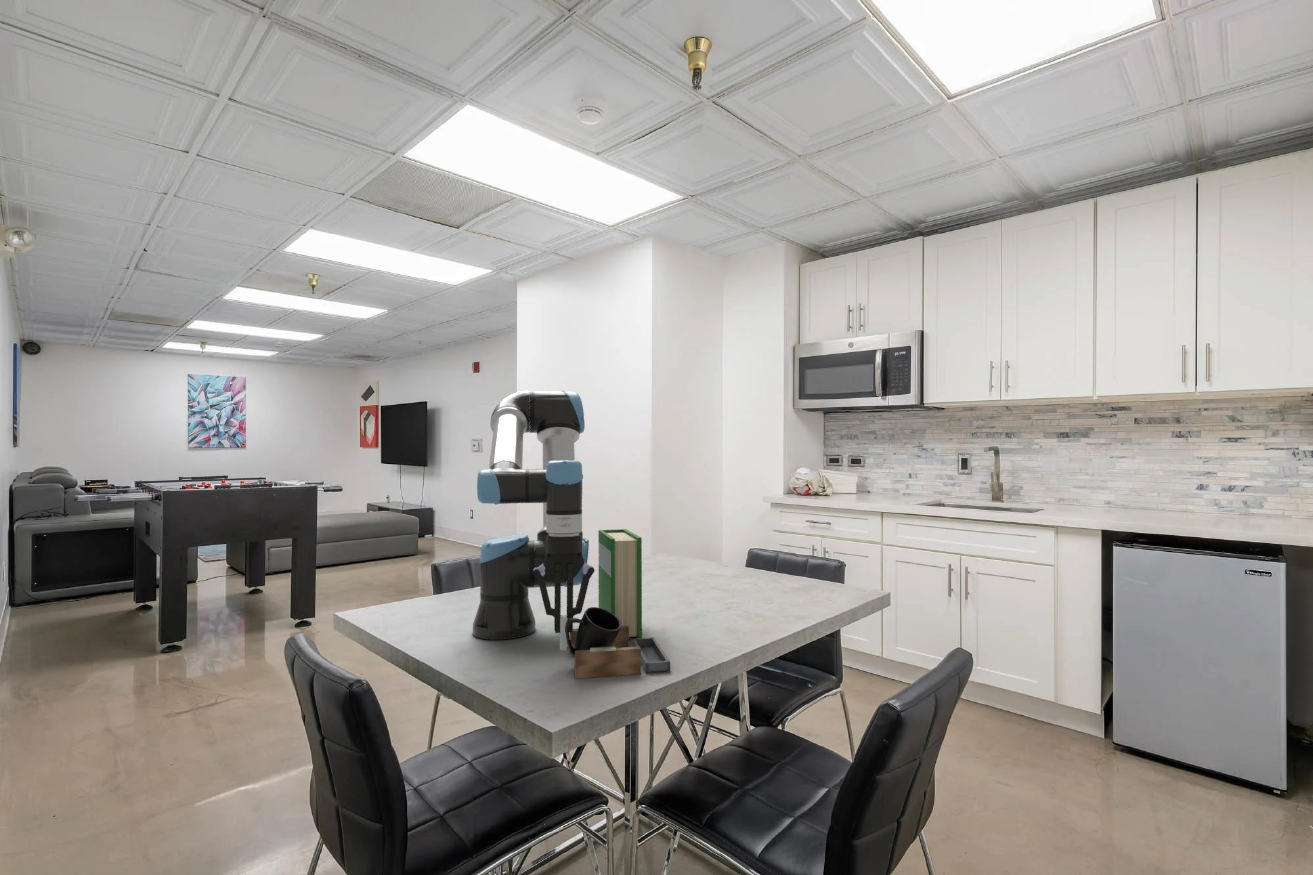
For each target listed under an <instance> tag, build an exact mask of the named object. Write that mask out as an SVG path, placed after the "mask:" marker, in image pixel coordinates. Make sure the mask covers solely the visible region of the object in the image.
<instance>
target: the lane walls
mask: <svg viewBox="0 0 1313 875" xmlns="http://www.w3.org/2000/svg"><path fill="white" fill-rule="evenodd" d="M577 631H578V628H573V631H572V632H569V636H570V642H571V645H572V647H573V648H575V640H576V635H577ZM569 653H570V652H569ZM570 654H571V653H570ZM571 655H572V654H571ZM641 674H642V665H641V648H640V646H638V647H632V646H630V637H629V627H628V626H621V629H620V631H619V633H618V635H617V637H616V639H615V641H614V643H613V645H612V646H611V647H599V648H590V650H577V651H575V656H574V679H575V680H576V679H577V680H578V679H589V678H590V679H591V678H593V679H594V678H602V677H603V678H605V677H606V678H607V677H615V676H616V677H618V676H632V675H641Z"/></svg>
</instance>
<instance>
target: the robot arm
mask: <svg viewBox="0 0 1313 875" xmlns="http://www.w3.org/2000/svg"><path fill="white" fill-rule="evenodd" d="M585 426H586V425H585V412H584V406H583V401H582V398H581V396H580V395H579V394H578V393H577V392H574V391H566V390H561V391H556V390H555V391H550V390H546V391H544V390H542V391H541V390H522V391H517V392H515V393H512V394H510V395H508V396H507V397H505V398H504V399H502V400H501V401H500V402H499V403H498V404H497V405H496V407H495V408H494V409H493V411H492V413H491V416H490V429H491V431H492V441H491V449H490V456H489V464H488V465H489V466H488V469H481V470H479V472H477V480H476V482H477V483H476V488H477V489H476V493H477V494H476V495H477V500H478V502H479V503H482V504H490V505H491V504H494V505H500V504H501V505H506V504H542V522H543V523H542V524H543V525H542V528H541V529H540V530H539V531H538V532H537V534H536V540H530V538H529V535H527V534H513V535H504V536H500V537H495V538H492V539H489V540H485V542H484V543H483V544H482V545H481V548H480V558H479V564H480V581H479V584H480V588H479V591H480V595H479V598H480V600H479V603H478V608H477V610H476V613H475V617H474V620H473V622H472V635H473V636H474V637H476V638H479V639H482V640H483V639H484V640H492V641H494V640H496V641H498V640H510V639H511V640H512V639H518V638H522V637H525V636H528V635H530V634H533V633H534V632H535V631H536V619H535V615H534V611H533V609H532V607H531V603H530V599H529V589H530V588H533V589H534V588H539V590H540V593H541V598H542V602H543V607H544V611H545V614H546V615H547V616H551V617H553V618H554V620H553V621H554V625H553V626H554V633H555V634H559V650H560V651H568V644H567V639H566V633H565V625H566V622H567V620H568V619H570V618H574V617H575V615H580V614H582V611H583V607H584V603H585V599H586V596H587V591H588V587H589V582H590V580H591V578H592V576H593V575H594V573H595V567H594V566H593V565H590V564H588V561H589V560H588V559H589V550H590V548H589V547H590V545H589V544H590V541H589V539H588V538H586V537H585V538H584V537H583V509H582V508H583V479H584V475H583V464H582V461H579V460H575V459H576V458H575V443H577V441H578V440H579V439H580V434H583V433H584V431H585V429H586V428H585ZM525 433H529V434H530V433H531V434H533V433H535V434H536V438H537V440H538V441H539V442H540V443H541V444H542V469H541V468H540V469H539V468H537V469H535V468H533V469H528V468H526V469H523V453H524V451H523V450H524V435H525ZM579 585H580V587H579V591H578V596H577V599H576V600H577V601H576V603H575V607H574V586H579ZM552 587H553V588H554V606H553V607H552V605H551V601H550V597H549V593H548V589H547V588H552ZM562 587H564V588H566V614H561V611H562V610H561V608H562V606H561V604H562V600H561V599H562V597H561V596H562V595H561V594H562ZM573 629H574V623H572V624H571V626H570V629H569V633H570V632H572V631H573Z"/></svg>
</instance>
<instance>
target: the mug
mask: <svg viewBox="0 0 1313 875" xmlns="http://www.w3.org/2000/svg"><path fill="white" fill-rule="evenodd" d="M572 623H573V624H574V623H577V624H579V625H578V628H577V629H578V631H577V635H576V640H575V648H573V647H572V645H571V642H570V632H569V629H570V626H571V624H572ZM620 629H621V622H620V620H619V619H618V618H617V617H616V616H615V615H614V614H612V613H611V612H609V611H607V610H605V609H602V608H599V606H598V607H597V606H591V607H588V608H586V609H585V610H584V612H583V615H582V618H576V617H573V618H570V619H568V620H567V622H566V625H565V633H566V639H567V649H568V651H569V653H571V655H572V656H574V657H575V651H577V650H590V648H599V647H611V646H612V645H613V643H614V641H615V639H616V637H617V635H618V633H619V631H620Z"/></svg>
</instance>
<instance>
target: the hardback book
mask: <svg viewBox="0 0 1313 875" xmlns="http://www.w3.org/2000/svg"><path fill="white" fill-rule="evenodd" d="M642 540H643V538H642V537H641V536H640V535H638V534H636V533H633V531H630V530H629V529H626V528H622V529H619V528H618V529H599V530H598V543H597V544H598V608H602V609H605V610H607V611H609V612H611V613H612V614H614V615H615V616H616V617H617V618H618V619H619V620H620V622H621V626H628V627H629V638H630V637H635V638H636V637H637V638H643V604H642V603H643V599H642V598H643V596H642V595H643V590H642V589H643V585H642V583H643V580H642V577H643V573H642V572H643V569H642V568H643V567H642V566H643V562H642V561H643V558H642V553H643V552H642V551H643V550H642V548H643V547H642V546H643V543H642ZM637 638H636V639H637Z"/></svg>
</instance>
